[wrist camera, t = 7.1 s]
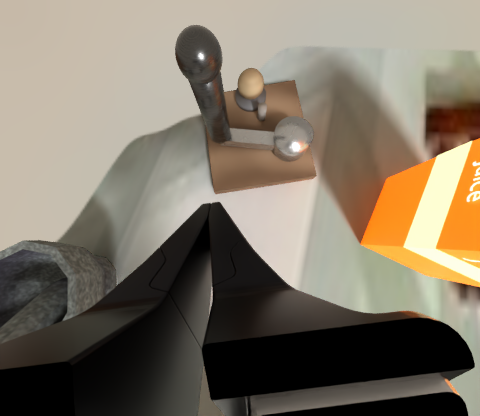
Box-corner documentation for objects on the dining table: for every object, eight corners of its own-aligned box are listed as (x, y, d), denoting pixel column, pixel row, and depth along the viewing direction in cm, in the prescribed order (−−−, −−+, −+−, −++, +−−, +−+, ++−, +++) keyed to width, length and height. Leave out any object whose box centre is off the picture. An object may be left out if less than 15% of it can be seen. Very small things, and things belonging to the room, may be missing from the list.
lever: (304, 163, 21) (371, 73, 10) (207, 153, 22) (160, 59, 10) (307, 131, 22) (372, 11, 10) (212, 123, 23) (173, 3, 11)
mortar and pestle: (53, 245, 23) (-161, 253, 11) (128, 234, 22) (-7, 230, 11) (51, 346, 21) (-211, 489, 9) (132, 334, 21) (-26, 466, 9)
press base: (312, 178, 22) (330, 162, 18) (215, 194, 23) (207, 182, 18) (291, 85, 25) (302, 48, 20) (203, 100, 25) (192, 67, 20)
